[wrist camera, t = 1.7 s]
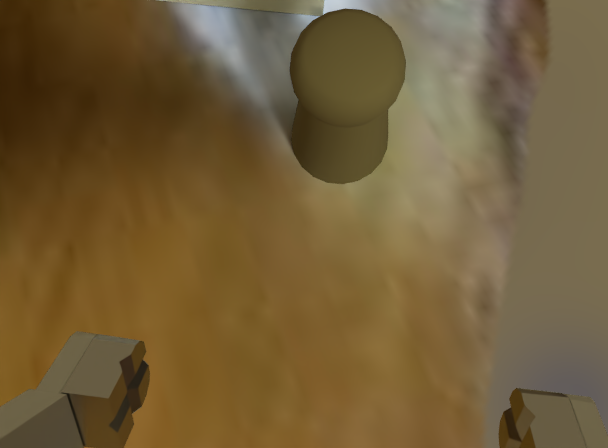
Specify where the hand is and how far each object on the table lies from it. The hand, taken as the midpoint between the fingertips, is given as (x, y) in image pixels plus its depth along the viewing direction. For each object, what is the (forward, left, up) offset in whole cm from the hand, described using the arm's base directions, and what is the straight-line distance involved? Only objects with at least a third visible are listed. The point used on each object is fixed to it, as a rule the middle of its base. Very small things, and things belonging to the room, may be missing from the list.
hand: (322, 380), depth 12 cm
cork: (0, +12, -20) cm, 23 cm away
